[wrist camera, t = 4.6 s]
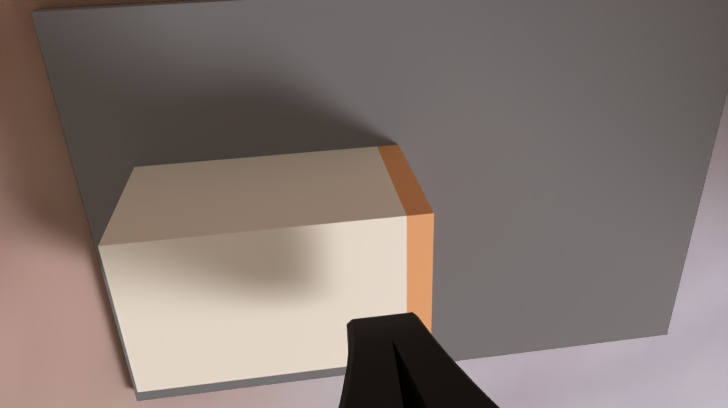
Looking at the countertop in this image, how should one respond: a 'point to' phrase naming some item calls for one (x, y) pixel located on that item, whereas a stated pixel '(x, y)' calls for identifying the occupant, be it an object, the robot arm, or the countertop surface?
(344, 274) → the tall block
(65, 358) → the countertop surface
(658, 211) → the mat
